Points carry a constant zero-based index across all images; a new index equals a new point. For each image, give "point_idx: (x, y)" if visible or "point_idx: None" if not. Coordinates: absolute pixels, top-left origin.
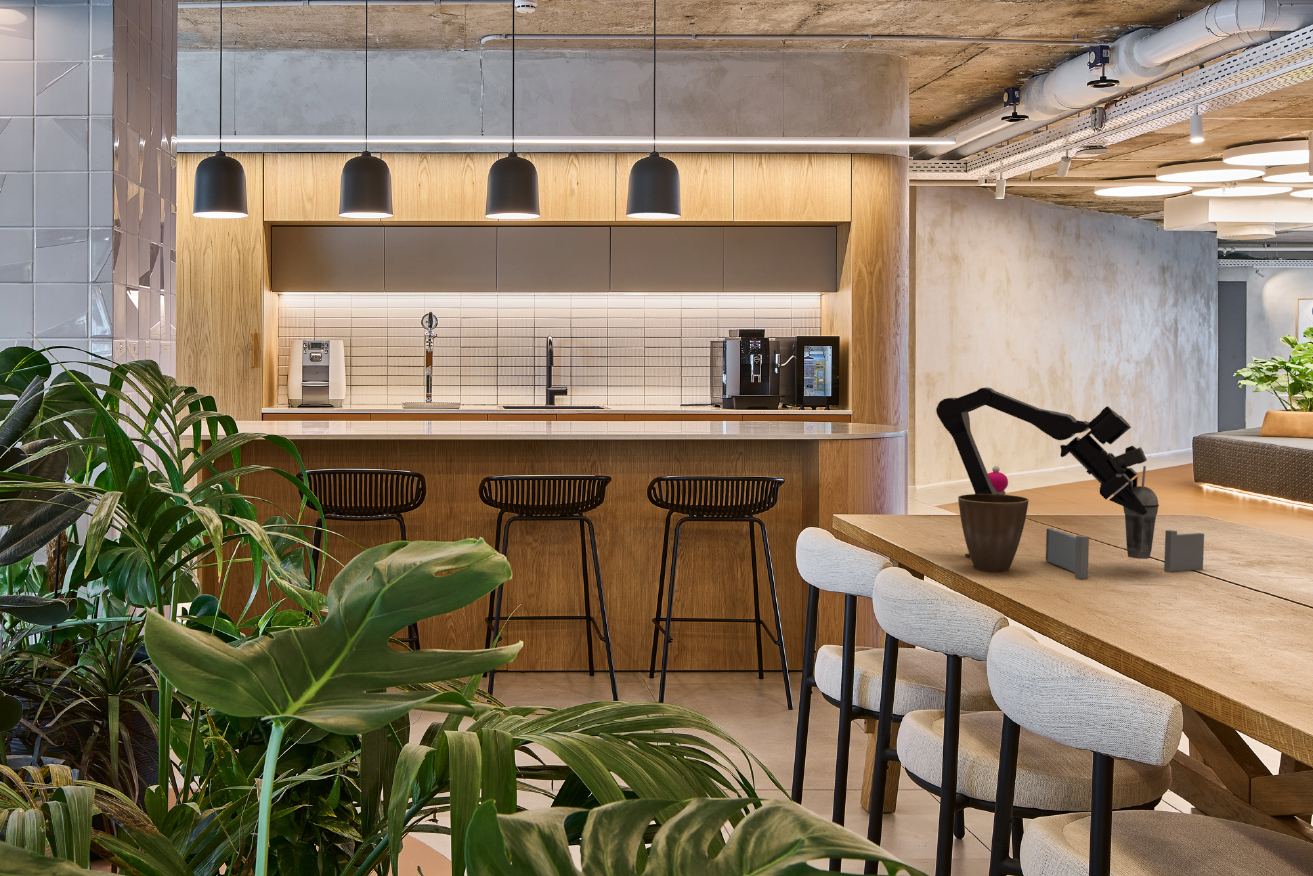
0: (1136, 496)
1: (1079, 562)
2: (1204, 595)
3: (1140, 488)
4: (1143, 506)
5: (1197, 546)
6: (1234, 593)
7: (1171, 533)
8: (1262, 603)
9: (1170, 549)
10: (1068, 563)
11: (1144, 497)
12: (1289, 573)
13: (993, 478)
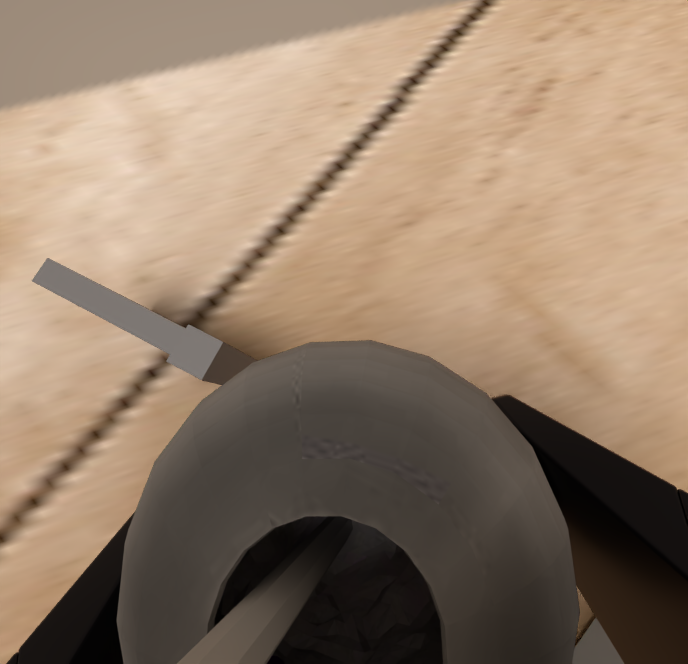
0: (664, 538)
1: None
2: (588, 174)
3: (485, 597)
4: (544, 426)
5: (119, 294)
6: (486, 131)
7: (225, 343)
8: (564, 50)
9: (252, 360)
10: None
11: (524, 443)
12: (64, 121)
13: None
